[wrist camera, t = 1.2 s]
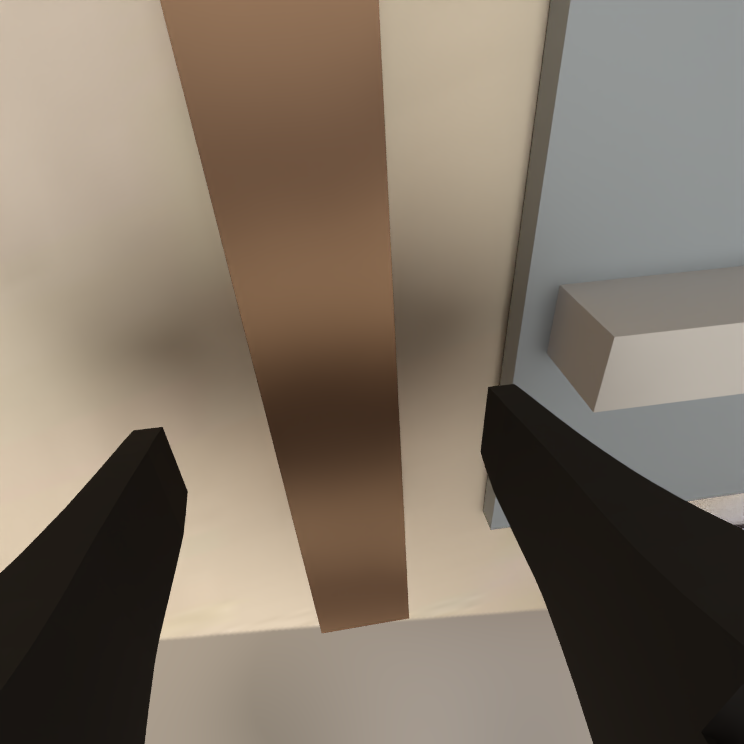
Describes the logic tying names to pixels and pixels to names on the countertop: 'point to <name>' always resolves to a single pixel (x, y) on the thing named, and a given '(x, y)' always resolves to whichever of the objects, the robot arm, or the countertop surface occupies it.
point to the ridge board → (637, 240)
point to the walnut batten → (310, 269)
